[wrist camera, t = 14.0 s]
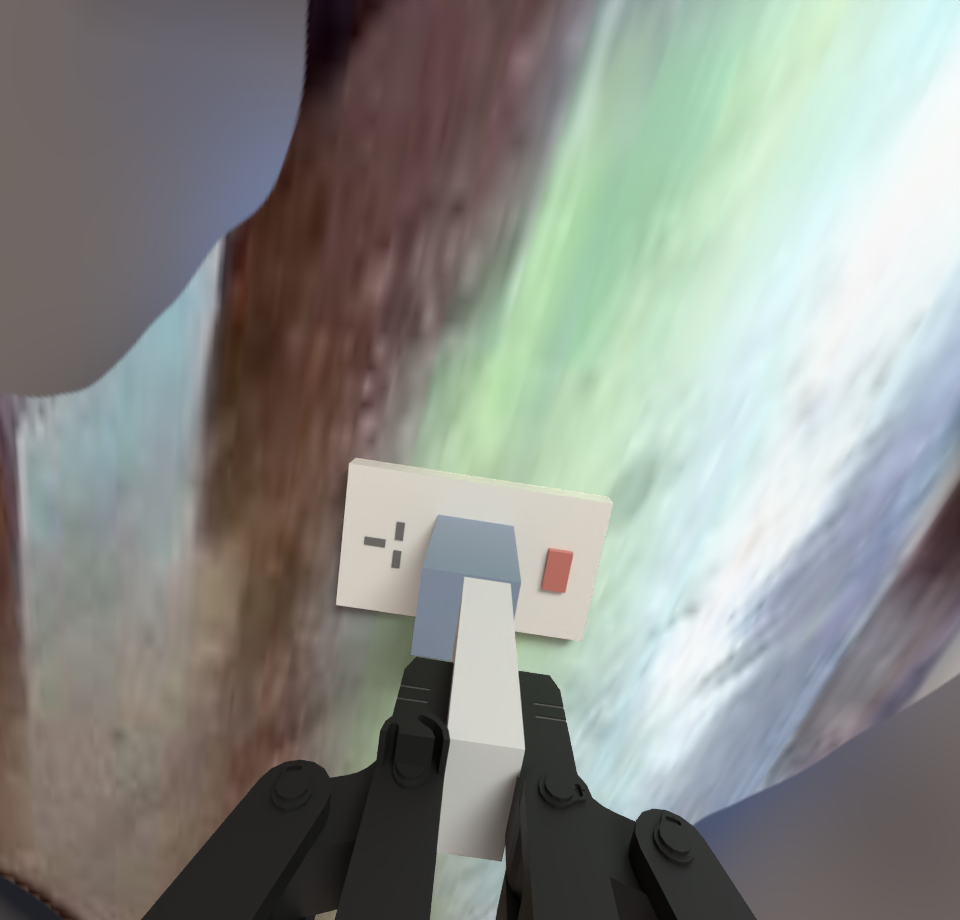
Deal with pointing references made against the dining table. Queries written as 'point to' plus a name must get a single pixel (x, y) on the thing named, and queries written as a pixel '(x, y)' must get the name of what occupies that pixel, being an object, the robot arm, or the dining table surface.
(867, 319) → the dining table surface
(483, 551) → the plug
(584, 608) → the socket plate
